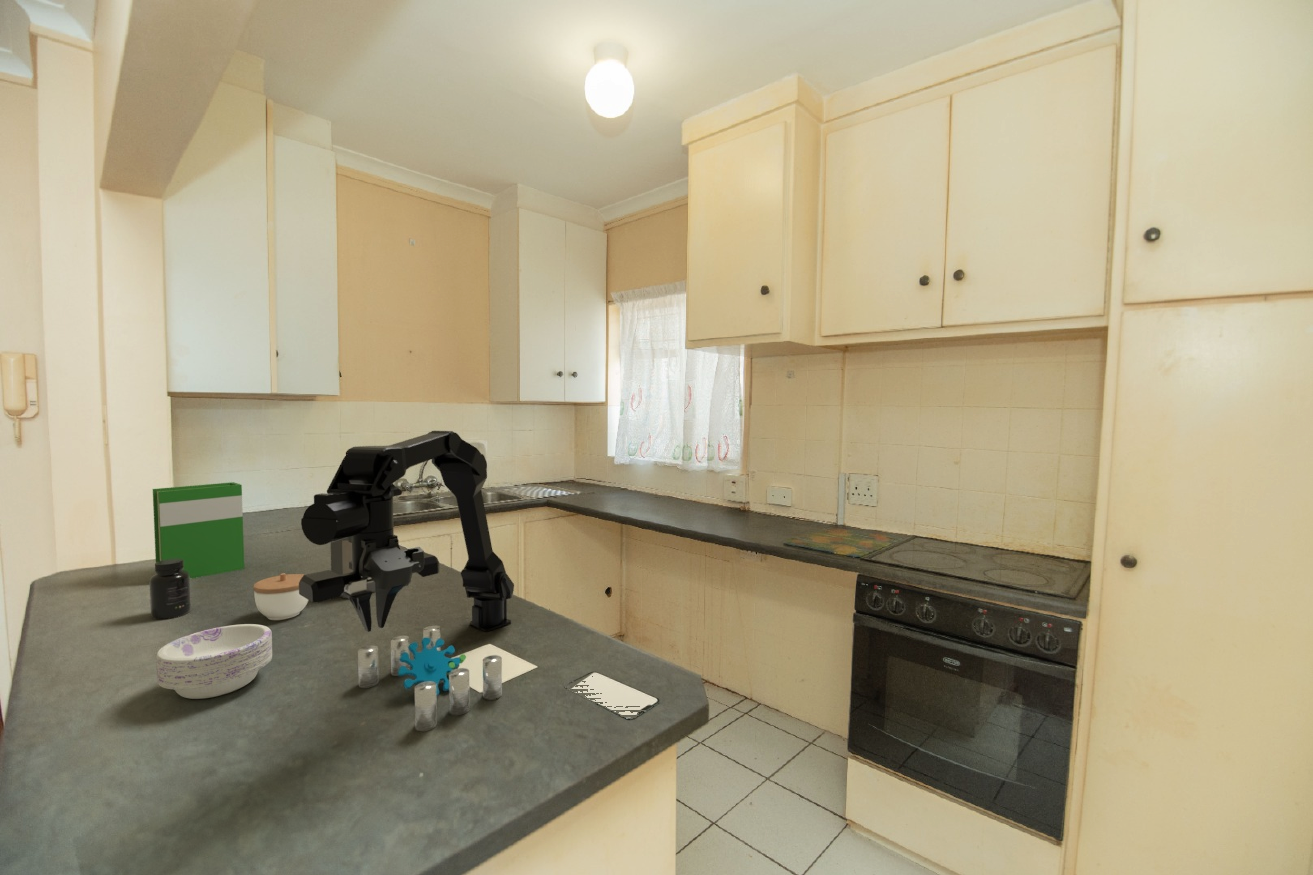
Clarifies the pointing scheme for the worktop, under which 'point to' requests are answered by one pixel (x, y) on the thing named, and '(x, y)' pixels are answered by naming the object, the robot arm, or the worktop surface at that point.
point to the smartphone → (616, 694)
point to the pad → (510, 665)
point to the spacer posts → (428, 689)
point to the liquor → (344, 560)
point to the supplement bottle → (170, 590)
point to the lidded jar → (279, 596)
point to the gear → (429, 664)
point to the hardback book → (200, 527)
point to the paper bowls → (214, 660)
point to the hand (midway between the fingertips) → (374, 629)
